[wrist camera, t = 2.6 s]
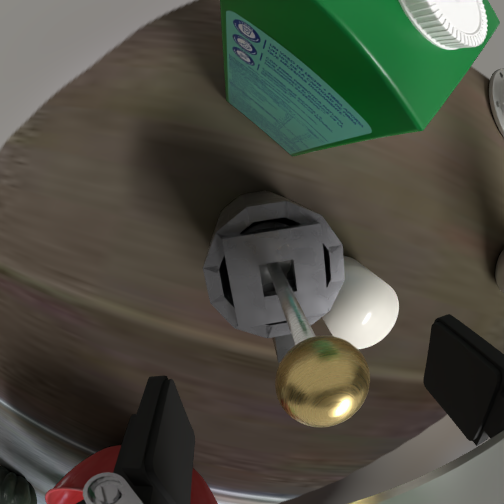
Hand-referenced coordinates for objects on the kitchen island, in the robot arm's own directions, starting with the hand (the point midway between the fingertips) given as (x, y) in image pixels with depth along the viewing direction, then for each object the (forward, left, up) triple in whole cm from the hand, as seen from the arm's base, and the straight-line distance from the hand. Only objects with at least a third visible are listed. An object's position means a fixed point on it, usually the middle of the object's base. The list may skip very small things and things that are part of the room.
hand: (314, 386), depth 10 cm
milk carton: (-5, -14, -24) cm, 28 cm away
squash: (+70, +51, -24) cm, 89 cm away
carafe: (0, +1, -23) cm, 23 cm away
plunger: (0, 0, -15) cm, 15 cm away
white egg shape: (-8, +7, -24) cm, 26 cm away
